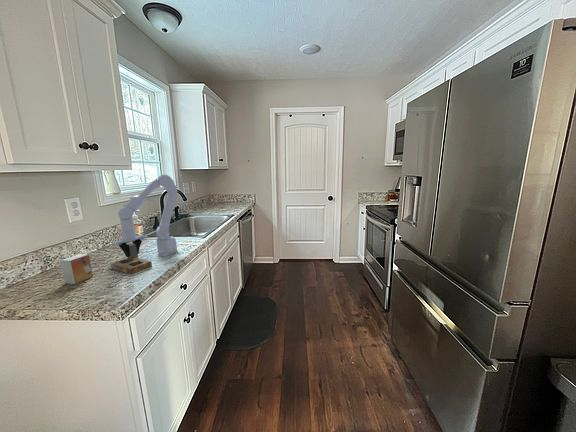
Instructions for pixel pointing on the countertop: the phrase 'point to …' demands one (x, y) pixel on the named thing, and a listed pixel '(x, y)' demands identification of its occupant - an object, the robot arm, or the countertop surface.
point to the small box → (76, 268)
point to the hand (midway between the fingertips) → (132, 255)
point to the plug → (132, 250)
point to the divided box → (131, 265)
